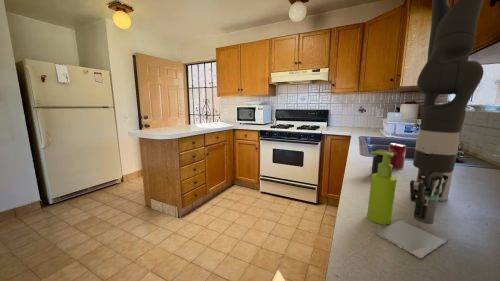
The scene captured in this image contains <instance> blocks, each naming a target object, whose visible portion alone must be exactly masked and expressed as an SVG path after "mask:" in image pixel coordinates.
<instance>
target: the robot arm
mask: <svg viewBox="0 0 500 281" xmlns="http://www.w3.org/2000/svg"><path fill="white" fill-rule="evenodd" d="M484 1H485V0H458V1H457V2H455V4H454V5H453V6H450V3H449V0H431V23H430V33H429V40H428V41H429V42H428V48H427V60H426V62H425V65H424V66H423V68H422V69H421V71H420V73H419V76H418V77H417V81H416V85H417V86H416V87H417V89H418V91H419V92H421V94H423V95H424V98H423V104H422V109H421V118H420V124H419V130H418V131H419V132H418V134H417V137H416V142H415V148H414V155H413V160H412V165H413V167H415V168H416V169H418V170H417V176H416V178H415V179H416V180H413V179H412V180H410V182H409V188H410V190H409V193H410V202H412V203H413V202H414V203H415V206H414V212H413V217H414V216H415V217H417V218H420V219H422V220H423V219H425V218H426V213H427V207H428V206H427V205H428V203H429V199H430V197H433V195H434V194H436V195H438V196H439V197H438V200H437V202H438V201H439V202H440V201H441V202H442V201H445V202H446V201H447V200H448V199H449V195H450V190H451V185H452V178H453V173H454V169H455V164H456V161H457V160H456V159H457V154H458V150H459V144H460V136H461V132H462V128H463V125H464V122H465V117H466V110H467V109H466V108H467V105H468V103H469V101H470V99H471V98H472V96H473V94H474V92H475V91H476V90H477V88H478V86H479V85H480V83H481V81H482V79H483V76H484V67H483V65H482V64H481V63H480V62H479V61H476V60H469V57H470V54H471V53H472V52H473V50H474V48H475V44H476V43H475V42H476V36H477V29H478V23H479V22H478V21H479V16H480V12H481V10H482V7H483V5H484V4H483V3H484ZM440 95H454V97H453V98H452V100H450V101H448V102H444V103H443V102H439V103H437V102H436V100H437V99H438V98H439V96H440ZM425 191H427V192H429V193H427V192H425ZM419 198H420V199H419Z"/></svg>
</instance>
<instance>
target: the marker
mask: <svg viewBox="0 0 500 281" xmlns="http://www.w3.org/2000/svg"><path fill="white" fill-rule="evenodd" d="M425 192H427V191H425ZM427 193H429V192H427ZM438 197H439V196H438V195H436V194H434V195H433V197H430V199H429V203H428V205H427V206H428V207H427V213H426V218H425V219H423V220H422V219H420V218H417V217H415V216H414V215H413V218H414V220H416V221H417V222H418V223H419V222H420V223H421V224H426V225H432V224H434V219H435V215H436V209H437V204H438V201H437V200H438ZM419 199H420V198H419Z"/></svg>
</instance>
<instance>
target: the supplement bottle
mask: <svg viewBox="0 0 500 281" xmlns="http://www.w3.org/2000/svg"><path fill="white" fill-rule="evenodd" d="M375 151H383V152H388V153H389V150H387V149H376V150H375ZM382 160H383V155H379V154H374V155H373V157H372V162H371V163H372V164H371V173H370V174H371V175H372V174H374V173H377V171H378V164H379V163H381V162H382Z"/></svg>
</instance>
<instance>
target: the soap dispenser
mask: <svg viewBox="0 0 500 281" xmlns="http://www.w3.org/2000/svg"><path fill="white" fill-rule="evenodd" d="M369 153H370V155H376V154H379V155H383V160H382V162H381V163H379V164H378V171H377V173H374V174H371V178H370V179H371V181H370V189H369V197H368V203H367V204H368V206H367V211H366V217H368V218H367V219H368V220H369V219H370V220H371V221H370V220H369V221H370V222H372V221H373V222H372V223H374V222H375V224H377V223H378V224H377V225H381V224H383V225H384V226H388V225H391V221H392V214H393V207H394V200H395V193H396V186H397V180H398V179H397V177H395V176H393V169H394V168H393V165H391V164H390V157H393V153H388V152H383V151H376V150H375V151H374V150H372V151H370V152H369ZM387 224H388V225H387ZM383 225H382V226H383Z"/></svg>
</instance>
